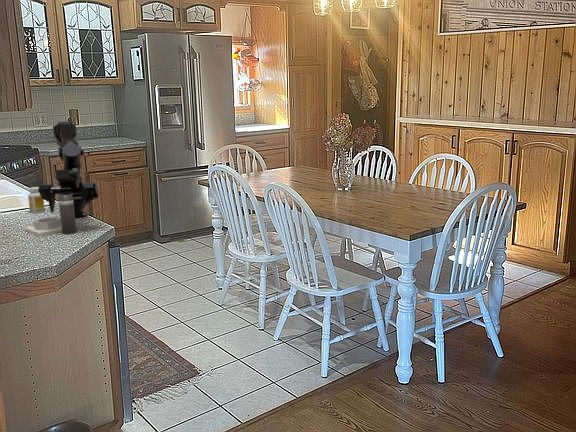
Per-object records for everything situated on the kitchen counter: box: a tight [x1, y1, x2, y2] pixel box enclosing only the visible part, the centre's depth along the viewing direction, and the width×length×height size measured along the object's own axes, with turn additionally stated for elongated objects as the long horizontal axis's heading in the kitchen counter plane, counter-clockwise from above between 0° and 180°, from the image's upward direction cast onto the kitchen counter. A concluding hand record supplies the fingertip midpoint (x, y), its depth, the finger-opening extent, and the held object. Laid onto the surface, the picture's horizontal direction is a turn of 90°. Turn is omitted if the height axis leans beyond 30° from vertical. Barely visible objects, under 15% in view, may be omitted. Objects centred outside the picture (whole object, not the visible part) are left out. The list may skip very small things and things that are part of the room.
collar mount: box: [23, 216, 62, 237], centre depth 203 cm, size 12×12×4 cm
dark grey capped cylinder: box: [57, 193, 77, 235], centre depth 198 cm, size 5×5×13 cm
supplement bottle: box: [27, 186, 46, 214], centre depth 232 cm, size 5×5×10 cm
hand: (66, 211), depth 196 cm, fingers open, 9 cm apart
